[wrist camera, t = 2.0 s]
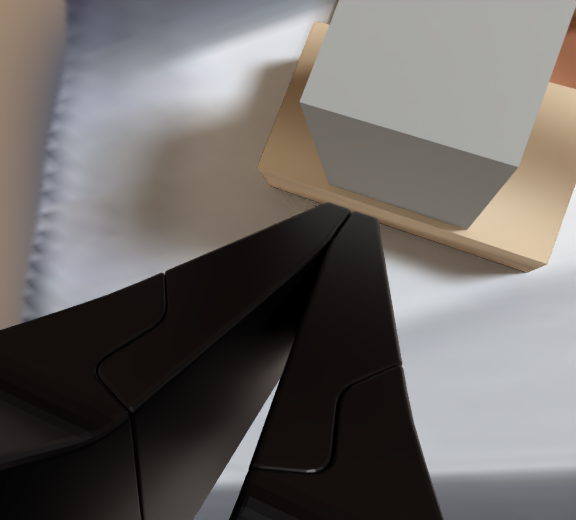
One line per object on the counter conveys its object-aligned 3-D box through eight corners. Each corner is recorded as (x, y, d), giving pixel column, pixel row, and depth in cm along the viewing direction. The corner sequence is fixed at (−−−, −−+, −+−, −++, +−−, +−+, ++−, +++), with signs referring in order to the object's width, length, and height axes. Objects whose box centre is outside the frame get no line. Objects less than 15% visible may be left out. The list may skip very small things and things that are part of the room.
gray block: (467, 230, 18) (518, 166, 11) (329, 184, 19) (299, 102, 12) (515, 95, 18) (593, -46, 12) (377, 57, 19) (374, -92, 13)
